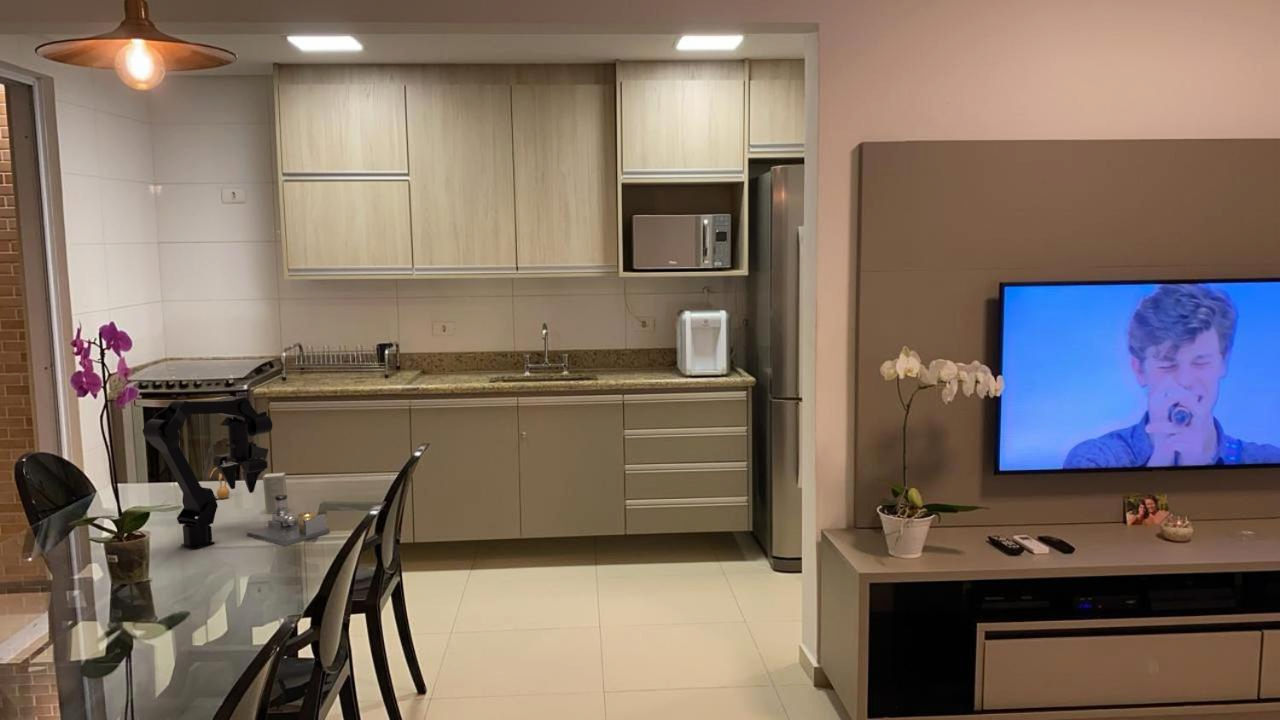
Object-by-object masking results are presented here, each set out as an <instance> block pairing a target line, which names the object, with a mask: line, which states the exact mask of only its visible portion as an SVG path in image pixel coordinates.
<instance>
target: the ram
mask: <svg viewBox="0 0 1280 720" xmlns="http://www.w3.org/2000/svg"><path fill="white" fill-rule="evenodd" d="M287 500H288V494H287V495H277V496H275V502H276V513H273V514H272V515H271V518H272V519H271V521H275V522H279V523H281V526H282V527H283V526H287V525H294V524H295V523H296V518H297V517H296V516H295V514H294V513H290V512H288V510H289V508H288V509H287ZM295 517H296V518H295Z"/></svg>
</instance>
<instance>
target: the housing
mask: <svg viewBox="0 0 1280 720" xmlns="http://www.w3.org/2000/svg"><path fill="white" fill-rule="evenodd" d="M315 516H317V512H316V511H314V510H313V511H312V510H311V511H309V510H308V511H303V512H299V513H298V515H297V518H298V522H299V532H301V533H304V530H303V520H304V519H308V518H311V517H315Z"/></svg>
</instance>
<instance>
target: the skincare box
mask: <svg viewBox="0 0 1280 720" xmlns="http://www.w3.org/2000/svg"><path fill="white" fill-rule="evenodd" d="M286 476H287V475H286V472H277V473H276V472H275V473H274V472H273V473H265V474H264V475H263V476H262V481H263V482H262V483H263V492H264V493H263V494H264V504H265V514H267V515H268V514H276V502H275V496H277V495H287V496H288V490H287V489H288V488H287V480H286V479H287V477H286ZM288 501H289V500H288V499H287V509H288V510H289V503H288Z"/></svg>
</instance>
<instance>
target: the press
mask: <svg viewBox="0 0 1280 720" xmlns="http://www.w3.org/2000/svg"><path fill="white" fill-rule="evenodd" d="M294 517H295V518H296V523H295V524H294V525H287V526H283V527H282V526H281V523H279V522H275V521H272V519H271V520H268V521H267V524H268V526H264V527H262V528H258V529H254V530H251V531H246V537H248V538H252V537H253V538H252V539H256V538H257V539H256V540H260V539H261V540H260V541H264V540H265V541H264V542H268V541H269V542H268V543H272V542H273V544H277V545H281V546H290V545H293V544H296V543H299V542H303V541H306V540H310V539H313V538H316V537H320V536H322V535H326V534H329V533H330V532H331V530H330V527H329V528H328V527H327V515H326V514H324V513H323V514H319V515H316V516H315V517H311V518H308V519H304V520H303V530H304V533H301V532H299V522H298V517H296V516H294Z"/></svg>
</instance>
